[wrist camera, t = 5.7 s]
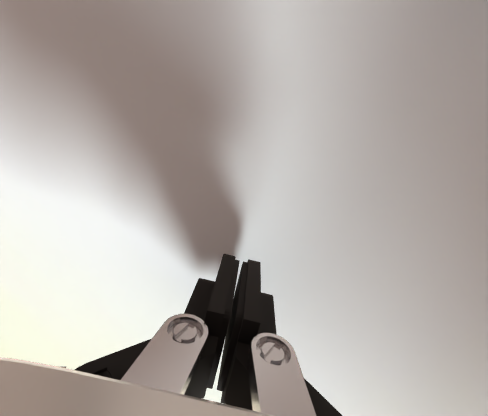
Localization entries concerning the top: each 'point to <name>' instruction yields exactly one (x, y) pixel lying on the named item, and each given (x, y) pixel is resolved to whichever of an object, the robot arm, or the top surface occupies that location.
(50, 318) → the top surface
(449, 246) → the top surface
